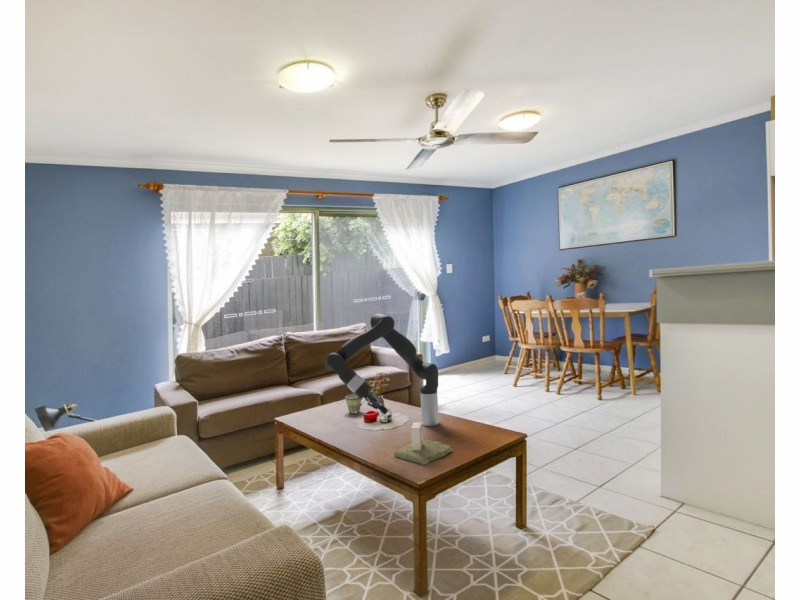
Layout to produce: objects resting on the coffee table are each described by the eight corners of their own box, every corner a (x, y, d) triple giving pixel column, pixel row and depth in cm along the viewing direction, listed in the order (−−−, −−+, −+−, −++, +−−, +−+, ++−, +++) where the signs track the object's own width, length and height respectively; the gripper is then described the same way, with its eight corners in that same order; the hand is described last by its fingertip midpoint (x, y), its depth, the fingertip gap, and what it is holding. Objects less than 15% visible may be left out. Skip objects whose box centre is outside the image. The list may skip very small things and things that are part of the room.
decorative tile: (393, 457, 197) (393, 449, 197) (422, 444, 212) (421, 436, 212) (426, 467, 185) (425, 459, 185) (453, 452, 200) (453, 444, 199)
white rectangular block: (414, 443, 203) (413, 422, 203) (423, 443, 203) (422, 422, 203) (412, 450, 196) (411, 428, 195) (421, 450, 195) (420, 428, 195)
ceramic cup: (345, 414, 265) (344, 398, 265) (347, 410, 275) (346, 394, 275) (366, 413, 265) (366, 397, 265) (367, 409, 275) (367, 393, 275)
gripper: (360, 383, 195) (389, 410, 194) (367, 377, 208) (394, 402, 207) (350, 395, 196) (378, 422, 195) (357, 388, 209) (383, 414, 208)
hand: (386, 412), depth 201 cm, fingers closed
